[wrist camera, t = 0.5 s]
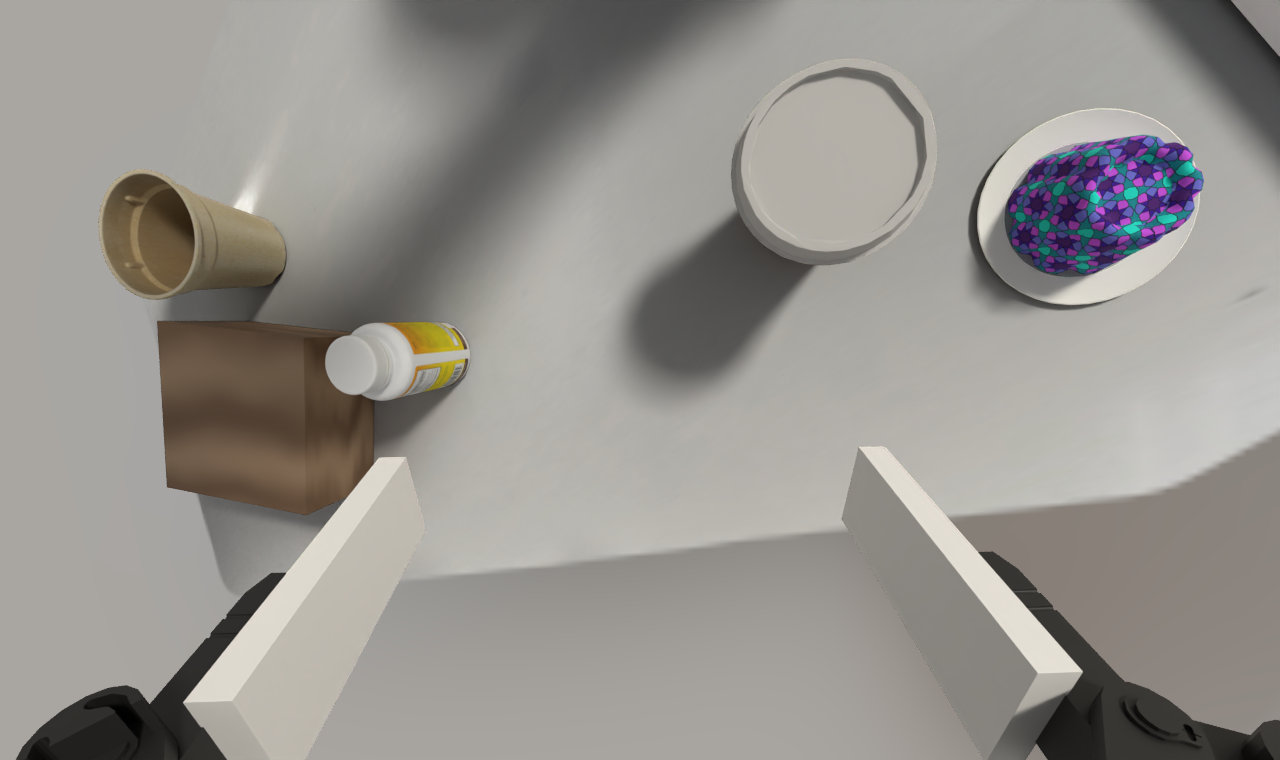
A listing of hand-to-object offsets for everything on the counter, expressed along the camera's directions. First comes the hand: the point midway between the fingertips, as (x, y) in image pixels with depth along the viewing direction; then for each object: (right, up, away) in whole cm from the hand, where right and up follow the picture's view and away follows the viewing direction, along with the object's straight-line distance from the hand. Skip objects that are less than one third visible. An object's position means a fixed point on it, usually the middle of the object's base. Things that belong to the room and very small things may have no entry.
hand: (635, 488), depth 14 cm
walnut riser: (-31, +1, +30) cm, 43 cm away
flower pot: (-35, +15, +29) cm, 48 cm away
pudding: (+28, +14, +17) cm, 36 cm away
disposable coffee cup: (+12, +15, +20) cm, 27 cm away
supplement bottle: (-17, +5, +27) cm, 32 cm away
